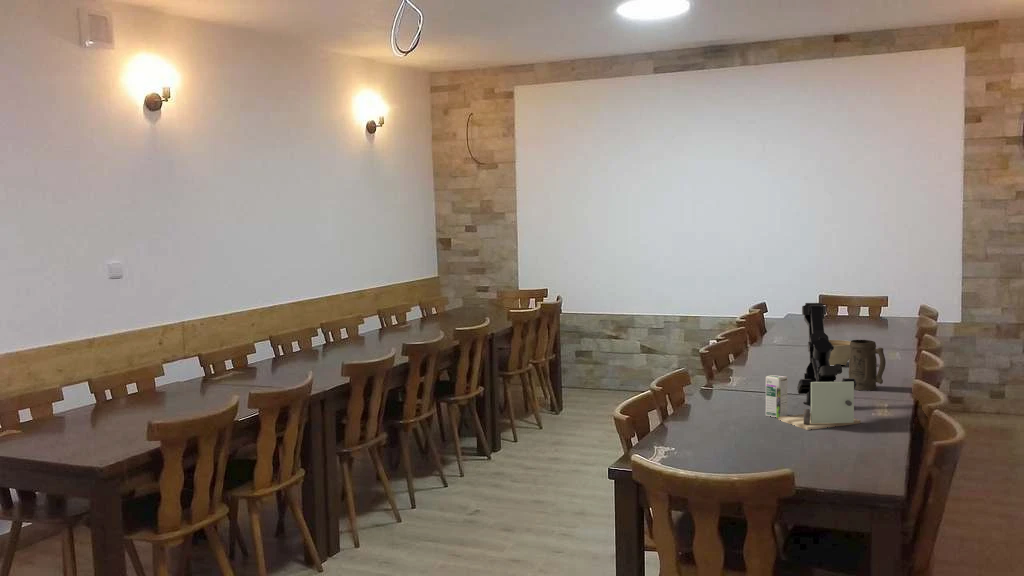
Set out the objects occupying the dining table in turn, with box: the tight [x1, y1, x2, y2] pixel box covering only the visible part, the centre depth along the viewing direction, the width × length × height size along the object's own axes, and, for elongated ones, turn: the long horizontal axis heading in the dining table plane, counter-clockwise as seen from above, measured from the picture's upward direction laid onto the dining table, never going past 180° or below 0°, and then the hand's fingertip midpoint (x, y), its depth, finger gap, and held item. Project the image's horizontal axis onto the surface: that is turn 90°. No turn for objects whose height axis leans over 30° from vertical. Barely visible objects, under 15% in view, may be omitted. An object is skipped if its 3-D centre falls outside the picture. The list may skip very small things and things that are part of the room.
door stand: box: [777, 408, 862, 431], centre depth 291 cm, size 16×22×6 cm
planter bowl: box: [829, 339, 852, 366], centre depth 397 cm, size 16×16×11 cm
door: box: [810, 381, 855, 423], centre depth 282 cm, size 3×14×14 cm, turn 86°
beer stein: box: [848, 339, 886, 392], centre depth 341 cm, size 15×11×20 cm
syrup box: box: [765, 374, 788, 419], centre depth 301 cm, size 6×6×14 cm
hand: (831, 406), depth 284 cm, fingers closed on door
